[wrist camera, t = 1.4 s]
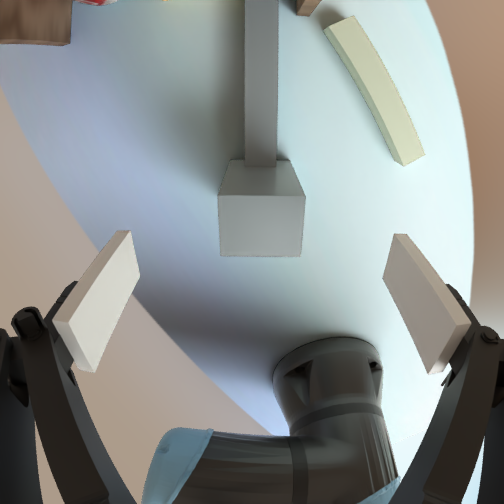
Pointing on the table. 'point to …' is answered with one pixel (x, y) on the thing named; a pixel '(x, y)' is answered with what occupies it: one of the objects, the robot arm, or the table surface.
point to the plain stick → (376, 89)
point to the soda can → (96, 2)
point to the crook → (261, 157)
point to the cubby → (59, 20)
